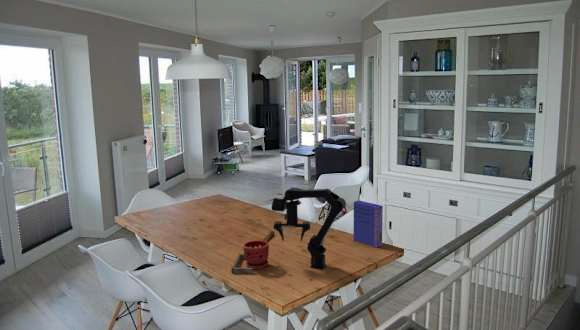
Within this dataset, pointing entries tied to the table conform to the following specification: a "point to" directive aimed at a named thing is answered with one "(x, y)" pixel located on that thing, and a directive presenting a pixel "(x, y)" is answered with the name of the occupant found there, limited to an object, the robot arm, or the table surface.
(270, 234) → the primitive tool
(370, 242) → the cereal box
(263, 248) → the plant pot
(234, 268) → the walnut corral
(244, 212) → the table surface
